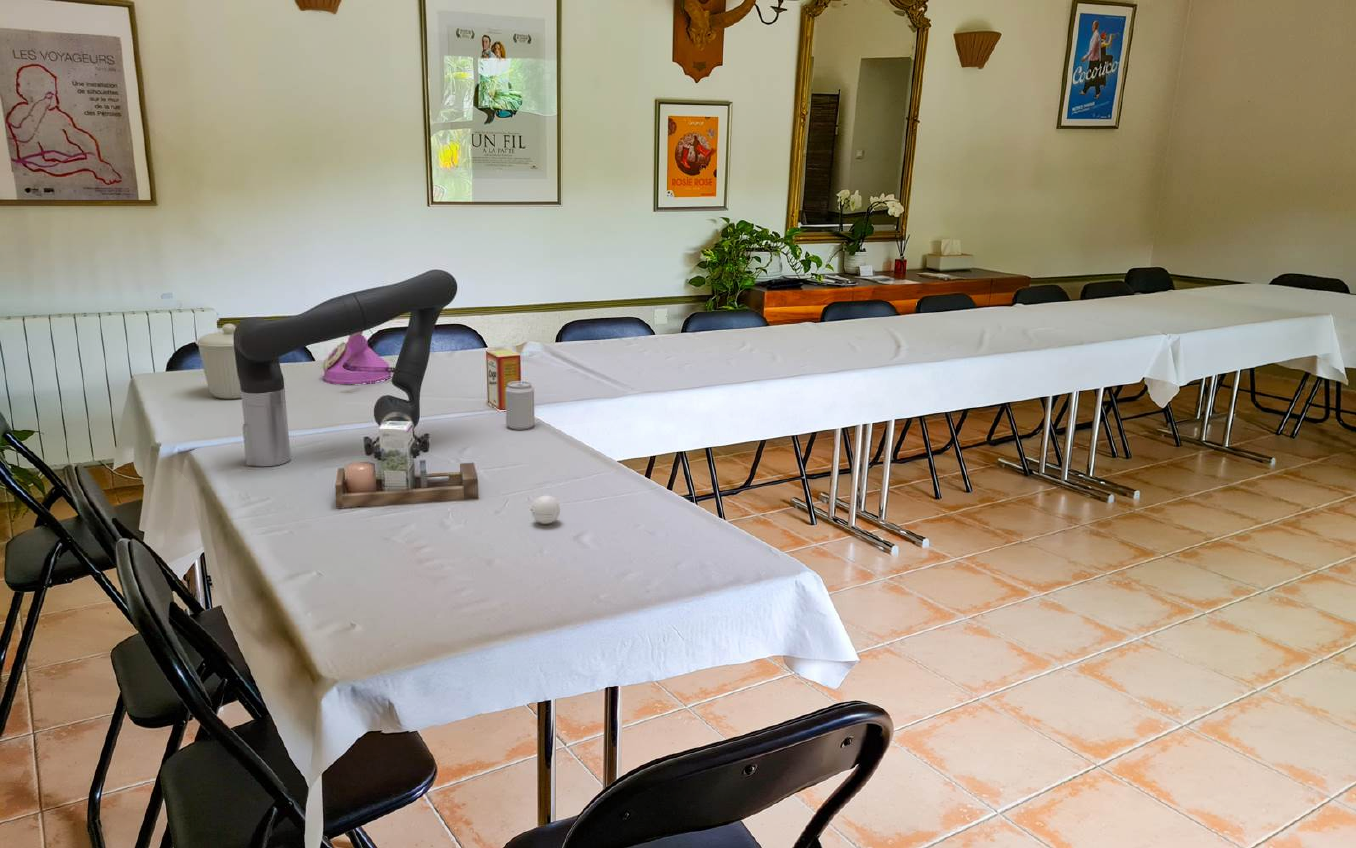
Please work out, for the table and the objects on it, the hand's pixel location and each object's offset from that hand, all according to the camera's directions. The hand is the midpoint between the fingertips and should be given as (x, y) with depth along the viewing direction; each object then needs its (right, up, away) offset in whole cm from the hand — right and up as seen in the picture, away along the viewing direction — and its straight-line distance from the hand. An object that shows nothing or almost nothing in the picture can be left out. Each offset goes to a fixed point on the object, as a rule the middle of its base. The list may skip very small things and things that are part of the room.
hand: (396, 454), depth 200 cm
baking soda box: (+8, +11, +77) cm, 78 cm away
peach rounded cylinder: (-8, -9, +3) cm, 12 cm away
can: (+16, +5, +57) cm, 60 cm away
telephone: (-41, +20, +104) cm, 113 cm away
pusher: (+6, -8, +7) cm, 12 cm away
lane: (0, -9, +5) cm, 10 cm away
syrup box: (-1, -8, +5) cm, 9 cm away
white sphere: (+31, -14, -9) cm, 35 cm away
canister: (-71, +15, +83) cm, 111 cm away
